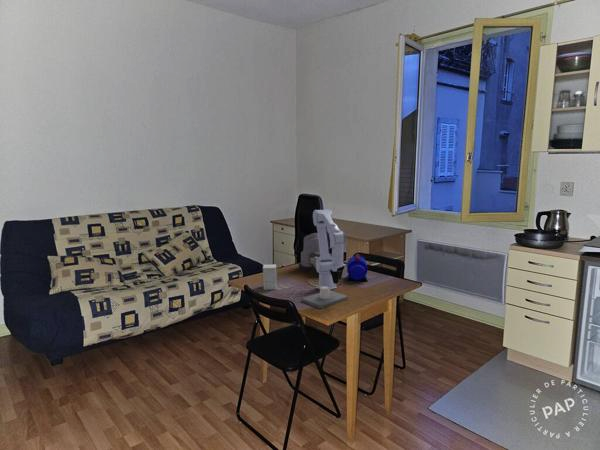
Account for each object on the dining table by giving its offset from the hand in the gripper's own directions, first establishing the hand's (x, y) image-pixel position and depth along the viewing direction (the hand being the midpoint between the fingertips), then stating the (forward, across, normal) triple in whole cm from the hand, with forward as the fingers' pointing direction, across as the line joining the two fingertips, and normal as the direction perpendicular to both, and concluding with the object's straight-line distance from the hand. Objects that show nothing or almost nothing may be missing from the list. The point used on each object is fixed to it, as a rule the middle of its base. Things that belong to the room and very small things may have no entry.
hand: (337, 281), depth 214 cm
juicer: (+10, +48, +24) cm, 54 cm away
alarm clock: (+10, +37, -4) cm, 38 cm away
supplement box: (+10, +7, +40) cm, 42 cm away
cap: (+8, -4, +6) cm, 10 cm away
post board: (+9, -4, +6) cm, 12 cm away
